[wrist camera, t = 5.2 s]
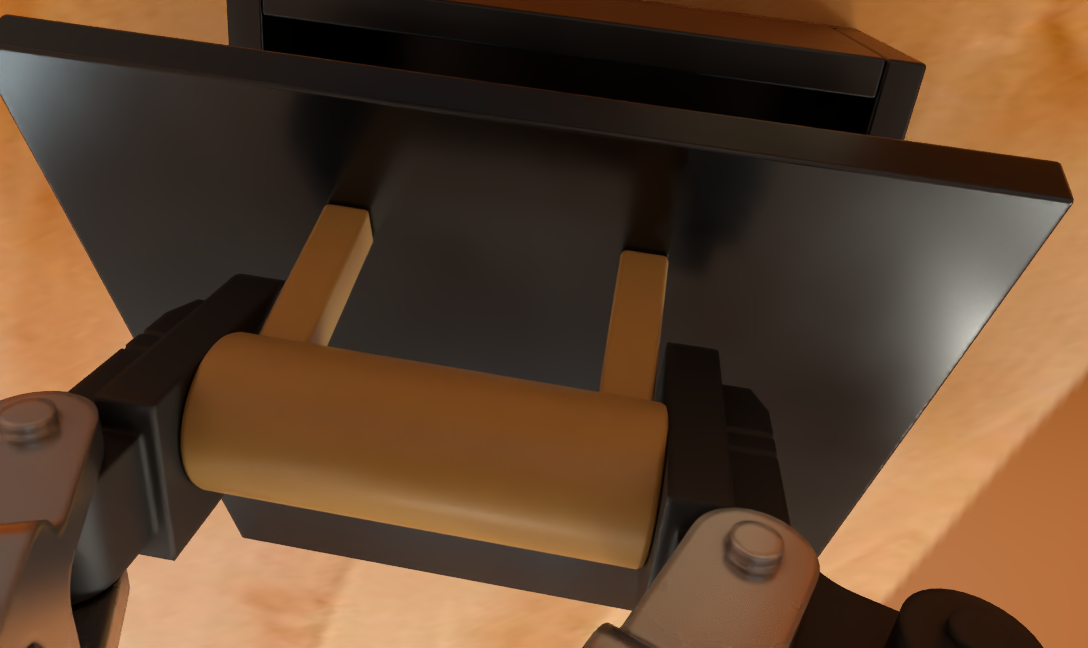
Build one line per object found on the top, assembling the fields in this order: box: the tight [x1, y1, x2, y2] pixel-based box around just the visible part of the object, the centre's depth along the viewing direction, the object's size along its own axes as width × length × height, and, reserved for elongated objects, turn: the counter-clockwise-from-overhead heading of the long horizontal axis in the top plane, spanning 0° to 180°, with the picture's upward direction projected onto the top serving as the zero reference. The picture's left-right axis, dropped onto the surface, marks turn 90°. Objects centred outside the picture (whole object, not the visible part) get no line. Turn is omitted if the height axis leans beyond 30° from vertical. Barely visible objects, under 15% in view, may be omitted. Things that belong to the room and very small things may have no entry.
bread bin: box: [227, 0, 926, 140], centre depth 23 cm, size 15×15×7 cm
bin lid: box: [0, 15, 1073, 611], centre depth 15 cm, size 16×15×5 cm
